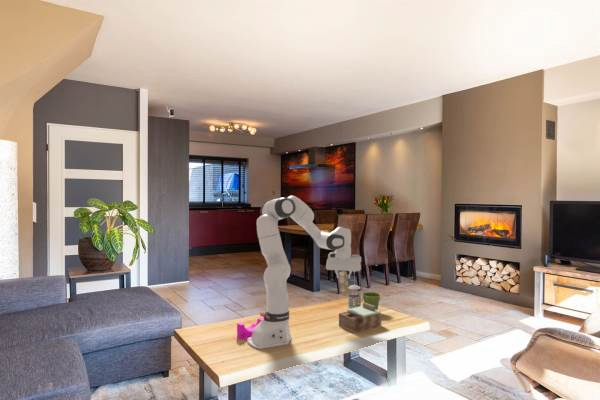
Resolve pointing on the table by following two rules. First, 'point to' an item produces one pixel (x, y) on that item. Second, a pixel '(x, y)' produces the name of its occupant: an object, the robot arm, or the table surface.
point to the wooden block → (343, 282)
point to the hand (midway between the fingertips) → (343, 278)
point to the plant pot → (371, 298)
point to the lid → (364, 310)
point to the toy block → (246, 329)
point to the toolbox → (358, 321)
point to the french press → (354, 296)
